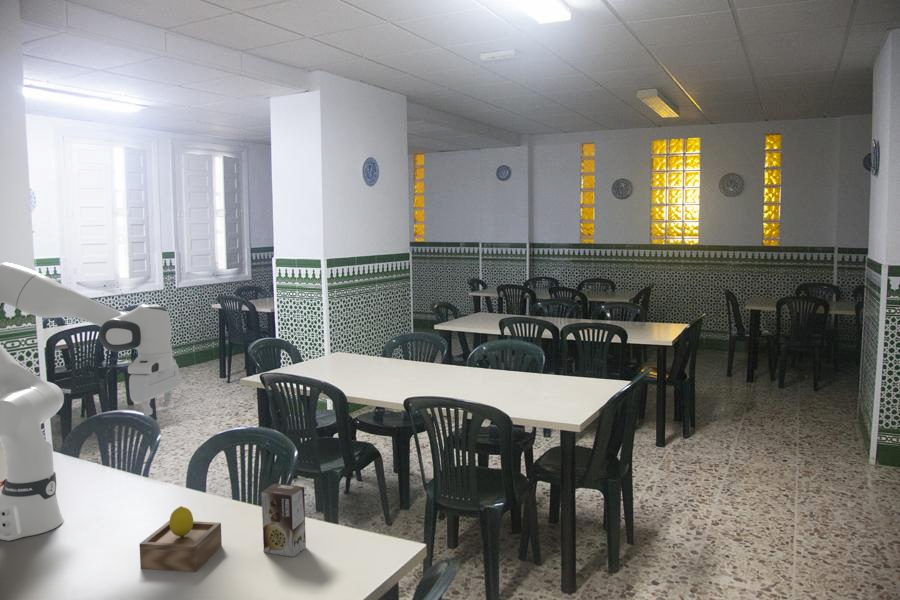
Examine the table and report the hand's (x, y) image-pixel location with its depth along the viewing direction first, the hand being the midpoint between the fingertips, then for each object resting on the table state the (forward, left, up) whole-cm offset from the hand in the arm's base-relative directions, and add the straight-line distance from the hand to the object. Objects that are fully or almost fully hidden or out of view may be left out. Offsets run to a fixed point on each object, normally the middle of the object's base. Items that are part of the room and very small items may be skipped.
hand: (157, 410), depth 195 cm
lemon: (+18, -22, -26) cm, 39 cm away
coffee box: (+42, -15, -31) cm, 54 cm away
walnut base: (+18, -22, -31) cm, 42 cm away
